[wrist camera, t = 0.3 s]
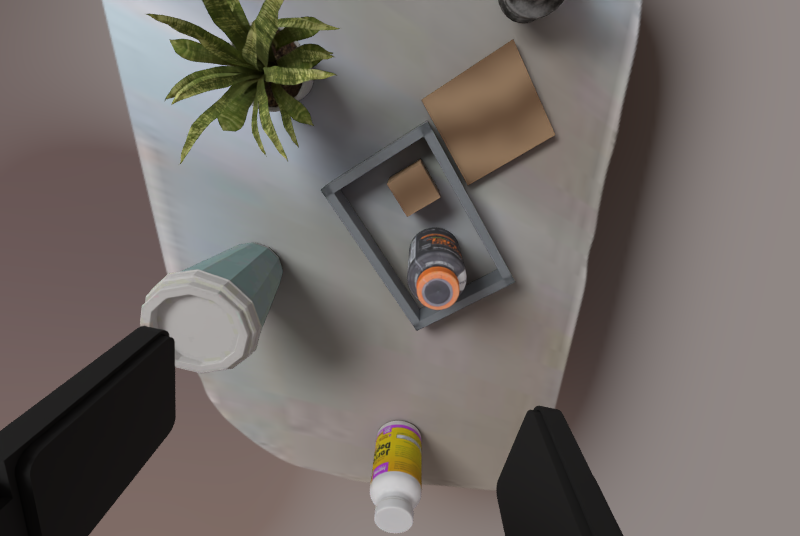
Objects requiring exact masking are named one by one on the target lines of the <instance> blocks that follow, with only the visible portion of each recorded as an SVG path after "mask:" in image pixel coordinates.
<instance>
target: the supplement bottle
mask: <svg viewBox="0 0 800 536" xmlns="http://www.w3.org/2000/svg"><path fill="white" fill-rule="evenodd" d="M421 451H422V448H421V435H420V432H419V430H418V429H417V428H416V427H415V426H414V425H412V424H410V423H408V422H405V421H391V422H388V423H386V424H385V425H383V426H382V427H381V428H380V430H379V431H378V434H377V439H376V446H375V454H374V462H373V470H372V477H371V485H370V496H371V499H372V501H373V503H374V504H375V506H376V508H375V516H374V517H375V518H374V520H375V523H376V525H377V526H378V527H379V528H380V529H381V530H383V531H386V532H389V533H401V532H405V531H406V530H408V529H410V528H411V526H412V524H413V516H414V511H413V509H414V508H415V507H416V506H417V505H418V503H419V501H420V499H421V493H422V487H421V486H422V483H421Z"/></svg>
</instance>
